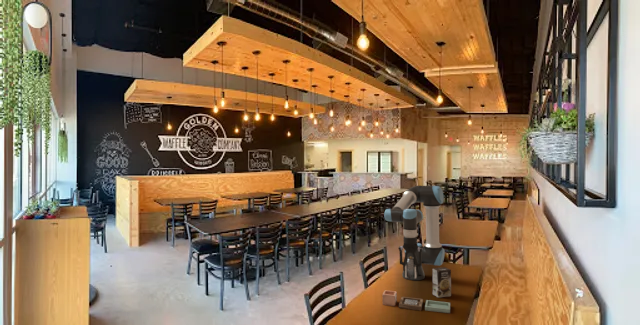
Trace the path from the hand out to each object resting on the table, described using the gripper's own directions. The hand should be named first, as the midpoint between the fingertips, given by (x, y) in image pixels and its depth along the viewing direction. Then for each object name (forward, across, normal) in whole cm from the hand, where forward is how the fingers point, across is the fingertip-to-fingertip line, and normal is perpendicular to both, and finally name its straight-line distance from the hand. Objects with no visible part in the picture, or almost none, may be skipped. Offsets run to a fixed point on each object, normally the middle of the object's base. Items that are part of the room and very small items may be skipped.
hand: (410, 277), depth 212 cm
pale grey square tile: (+15, 0, 0) cm, 15 cm away
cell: (0, 0, 0) cm, 0 cm away
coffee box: (+16, +16, +21) cm, 31 cm away
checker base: (+16, 0, 0) cm, 16 cm away
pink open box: (+16, -12, -1) cm, 20 cm away
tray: (+16, +14, 0) cm, 22 cm away
